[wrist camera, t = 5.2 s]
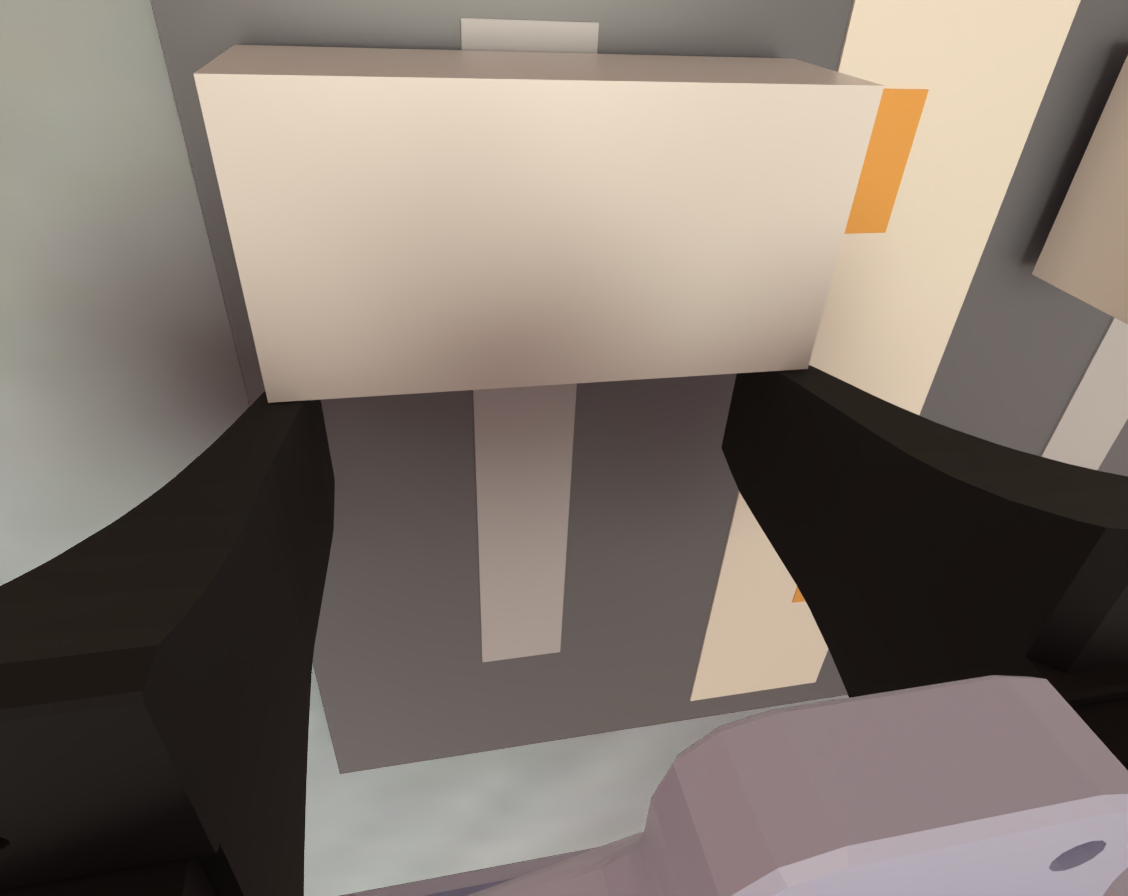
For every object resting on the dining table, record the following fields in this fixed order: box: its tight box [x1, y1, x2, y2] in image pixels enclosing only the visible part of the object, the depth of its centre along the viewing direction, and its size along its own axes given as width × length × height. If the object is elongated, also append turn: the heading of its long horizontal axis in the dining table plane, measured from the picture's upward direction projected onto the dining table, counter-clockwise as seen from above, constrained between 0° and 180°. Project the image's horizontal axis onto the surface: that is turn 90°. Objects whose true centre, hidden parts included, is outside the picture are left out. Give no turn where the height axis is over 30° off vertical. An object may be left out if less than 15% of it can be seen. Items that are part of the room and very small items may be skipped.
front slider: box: [193, 45, 884, 403], centre depth 10 cm, size 4×8×2 cm, turn 88°
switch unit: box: [151, 0, 1128, 774], centre depth 15 cm, size 24×24×1 cm
